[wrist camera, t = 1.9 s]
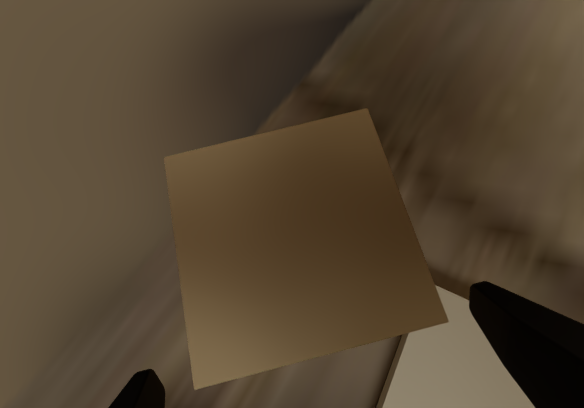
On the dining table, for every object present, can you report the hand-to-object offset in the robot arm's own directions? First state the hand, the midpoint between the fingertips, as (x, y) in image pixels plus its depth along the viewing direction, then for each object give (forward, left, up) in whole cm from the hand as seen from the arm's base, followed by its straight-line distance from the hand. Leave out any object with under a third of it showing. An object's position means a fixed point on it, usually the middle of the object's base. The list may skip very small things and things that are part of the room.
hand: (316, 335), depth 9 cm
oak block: (+1, -2, -10) cm, 10 cm away
